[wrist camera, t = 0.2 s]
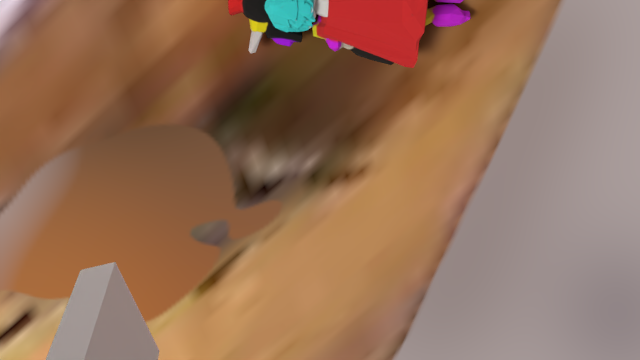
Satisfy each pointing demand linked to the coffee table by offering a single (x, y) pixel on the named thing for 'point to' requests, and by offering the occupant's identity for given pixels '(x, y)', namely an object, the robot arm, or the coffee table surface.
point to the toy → (350, 24)
